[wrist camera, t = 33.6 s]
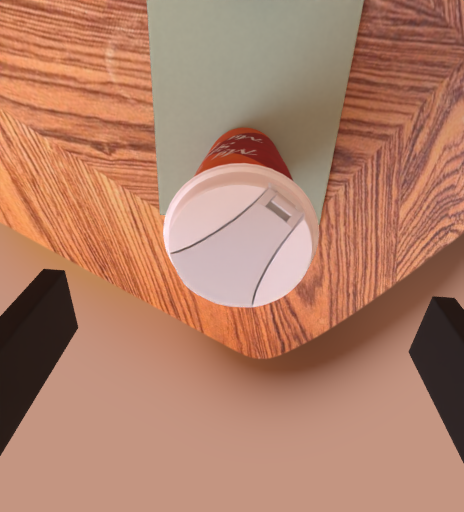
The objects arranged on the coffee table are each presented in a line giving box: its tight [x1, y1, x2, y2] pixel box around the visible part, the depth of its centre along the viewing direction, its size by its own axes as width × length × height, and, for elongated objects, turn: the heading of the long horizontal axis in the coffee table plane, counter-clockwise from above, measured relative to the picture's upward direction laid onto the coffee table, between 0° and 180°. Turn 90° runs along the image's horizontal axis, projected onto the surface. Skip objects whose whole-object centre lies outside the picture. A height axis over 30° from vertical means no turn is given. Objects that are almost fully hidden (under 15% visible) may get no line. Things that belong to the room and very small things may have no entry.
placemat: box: [147, 0, 364, 225], centre depth 25 cm, size 14×24×1 cm, turn 177°
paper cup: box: [163, 128, 319, 307], centre depth 23 cm, size 8×8×14 cm
